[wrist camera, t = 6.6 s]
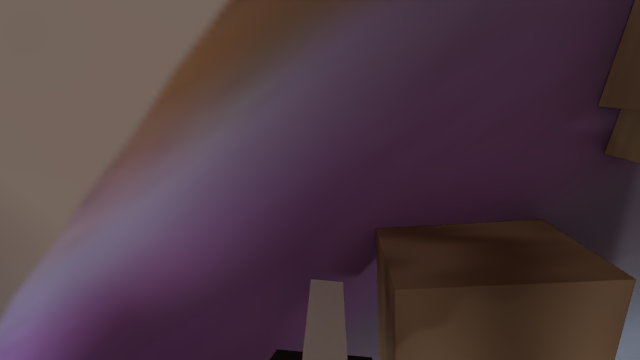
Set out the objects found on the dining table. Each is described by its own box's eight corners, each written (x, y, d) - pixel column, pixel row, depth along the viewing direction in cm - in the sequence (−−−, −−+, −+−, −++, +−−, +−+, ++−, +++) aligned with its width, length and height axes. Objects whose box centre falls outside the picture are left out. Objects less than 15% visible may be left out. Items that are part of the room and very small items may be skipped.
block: (378, 351, 18) (396, 448, 13) (375, 226, 16) (395, 290, 11) (520, 346, 17) (592, 445, 13) (539, 217, 15) (635, 279, 10)
